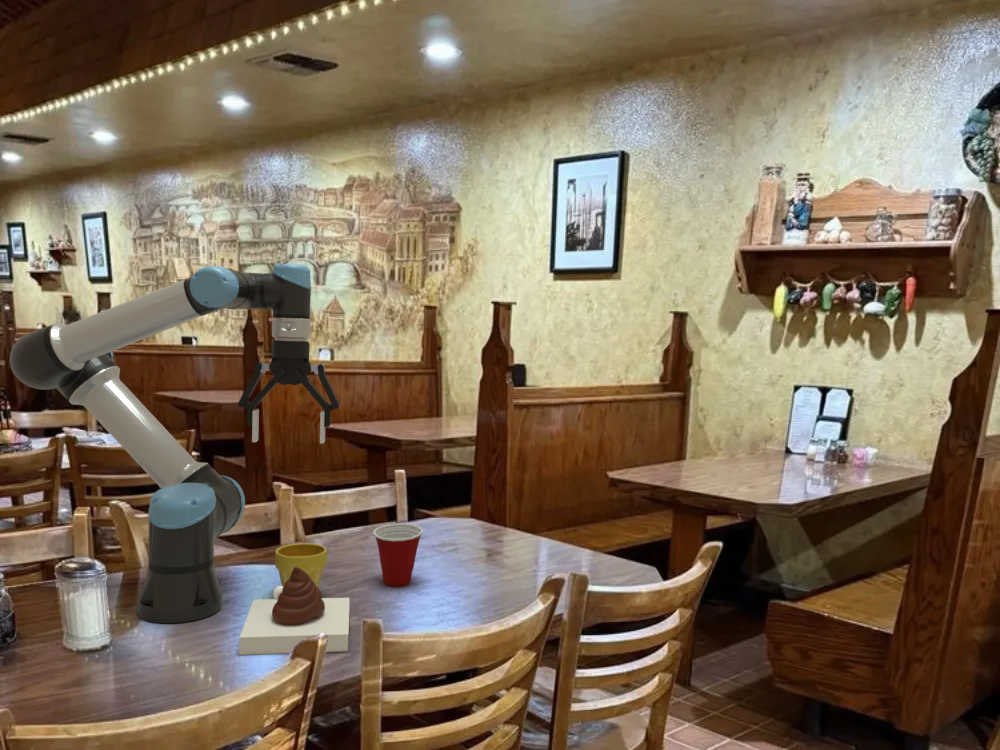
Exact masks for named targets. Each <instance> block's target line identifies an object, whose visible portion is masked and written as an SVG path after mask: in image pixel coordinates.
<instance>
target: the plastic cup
mask: <svg viewBox="0 0 1000 750" xmlns="http://www.w3.org/2000/svg"><path fill="white" fill-rule="evenodd" d="M423 530H424V529H423V528H422V527H421V526H419V525H416V524H413V523H405V522H400V523H399V522H397V523H389V524H384V525H380V526H378V527H376V528H375V529H373V532H372V534H373V536H374V537H375V540H376V543H377V547H378V555H379V561H380V562H379V563H380V569H381V573H382V581H383V583H384V585H385V586H388V587H393V588H399V587H406V586H408V585H410V583H411V579H412V575H413V570H414V567H415V562H416V557H417V552H418V551H417V550H418V547H419V542H420V538H421V537H422V535H423V532H424V531H423Z"/></svg>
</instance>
